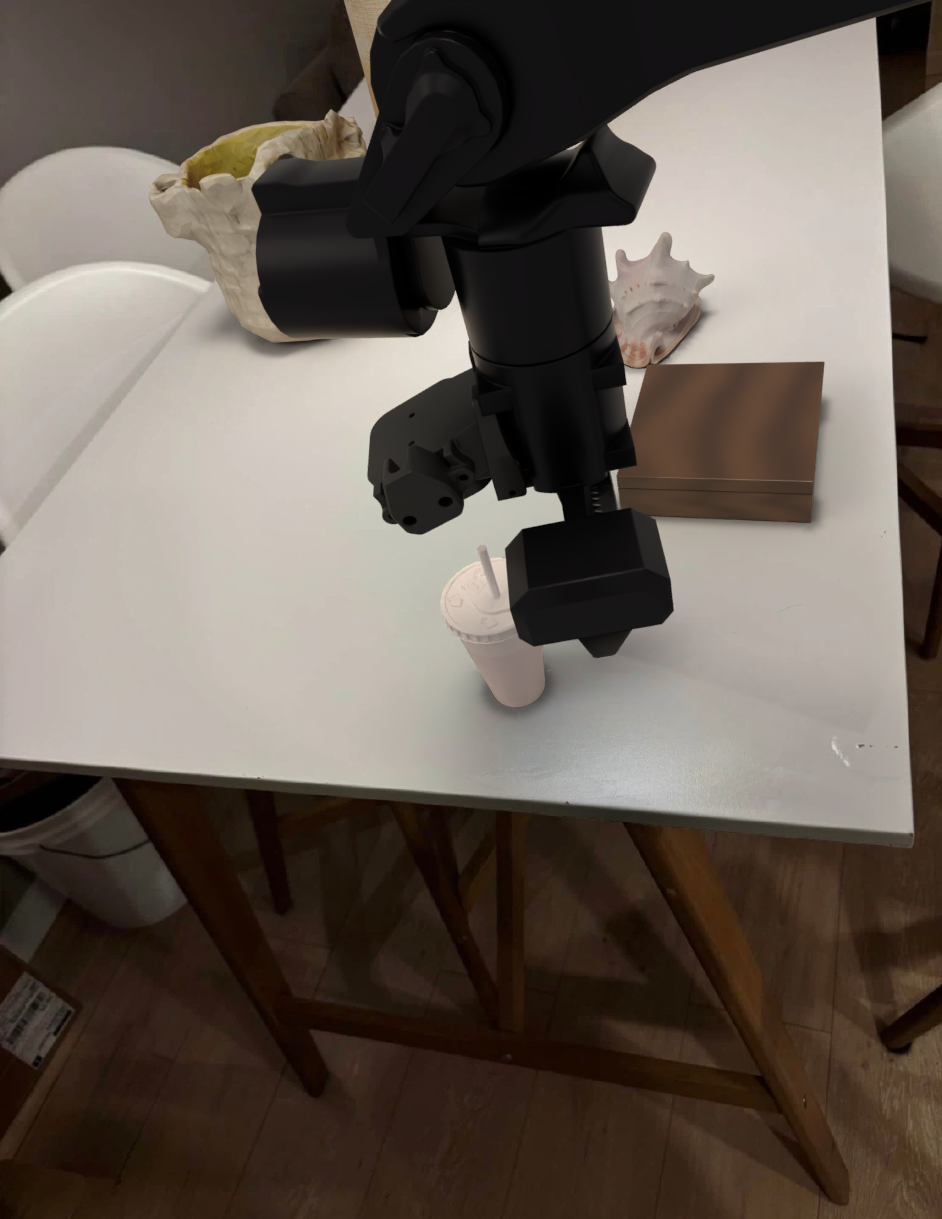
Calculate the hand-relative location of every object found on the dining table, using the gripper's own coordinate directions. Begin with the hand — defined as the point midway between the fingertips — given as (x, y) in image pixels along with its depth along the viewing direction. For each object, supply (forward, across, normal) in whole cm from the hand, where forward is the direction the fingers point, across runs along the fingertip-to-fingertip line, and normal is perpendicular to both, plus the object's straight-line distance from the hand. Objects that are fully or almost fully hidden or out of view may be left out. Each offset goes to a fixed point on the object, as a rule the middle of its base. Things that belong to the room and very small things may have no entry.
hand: (592, 585), depth 46 cm
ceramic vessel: (+14, -65, -25) cm, 71 cm away
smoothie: (+15, -5, -6) cm, 17 cm away
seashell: (+15, -44, +10) cm, 48 cm away
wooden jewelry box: (+15, -25, +12) cm, 31 cm away
